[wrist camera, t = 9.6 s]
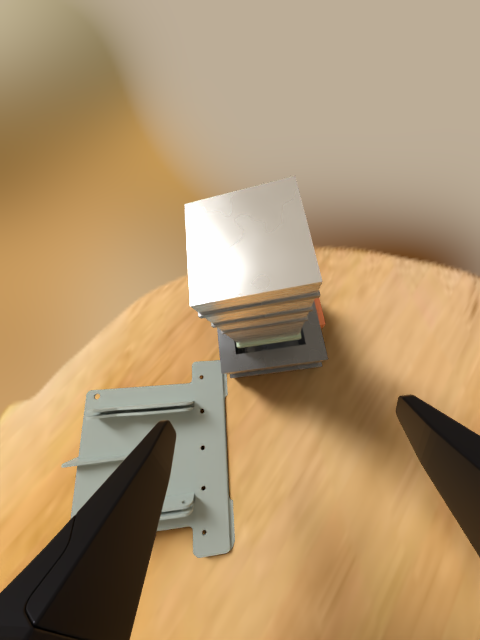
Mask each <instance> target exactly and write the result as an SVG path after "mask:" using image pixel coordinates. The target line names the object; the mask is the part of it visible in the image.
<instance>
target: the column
mask: <svg viewBox="0 0 480 640" xmlns="http://www.w3.org/2000/svg"><path fill="white" fill-rule="evenodd" d="M185 219H186V239H187V256H188V275H189V294H190V306H191V307H192V308H193V309H195V310H196V311H197V312H198V317H200V318H206V319H207V320H209V321H210V322H211V324H212V327H213V328H215V327H217V328H219V329H220V330H221V334H226V335H227V336H229V337H230V338H231V339H233V340H234V341H235V342H236V344H237V347H238V348H244V347H251V346H257V345H264V344H271V343H278V342H284V341H291V340H298V339H301V332H300V331H301V329H302V327H303V324H304V322H305V321H308V313H309V312H311V311H313V306H312V304H313V302H314V299H315V298H319V297H320V292H319V288H320V286H321V284H322V278H321V274H320V270H319V266H318V262H317V259H316V255H315V251H314V247H313V243H312V239H311V235H310V231H309V227H308V224H307V220H306V216H305V212H304V208H303V204H302V200H301V196H300V192H299V188H298V185H297V181H296V177H295V176H292V177H288V178H284V179H280V180H276V181H272V182H268V183H265V184H261V185H257V186H253V187H249V188H246V189H242V190H238V191H234V192H230V193H226V194H222V195H218V196H215V197H211V198H207V199H203V200H199V201H196V202H192V203H188V204H185Z"/></svg>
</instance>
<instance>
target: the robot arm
mask: <svg viewBox="0 0 480 640" xmlns="http://www.w3.org/2000/svg"><path fill="white" fill-rule="evenodd" d="M396 414H397V417H398V419H399V421H400V423H401V425H402V427H403V429H404V431H405V433H406V435H407V437H408V439H409V441H410V443H411V445H412V447H413V449H414V451H415V453H416V455H417V457H418V459H419V460H420V462H421V464H422V466H423V467H424V469H425V471H426V472H427V474H428V475H429V477H430V479H431V480H432V482H433V483H434V485H435V487H436V488H437V490H438V491H439V493H440V495H441V496H442V498H443V499H444V501H445V503H446V504H447V506H448V507H449V509H450V511H451V512H452V514H453V515H454V517H455V519H456V520H457V522H458V523H459V525H460V527H461V528H462V530H463V531H464V533H465V535H466V536H467V538H468V539H469V541H470V543H471V544H472V546H473V547H474V549H475V551H476V552H477V554H478V555H479V557H480V435H478V434H476V433H475V432H473V431H471V430H470V429H468V428H466V427H465V426H463V425H462V424H460V423H458V422H457V421H455V420H453V419H452V418H450V417H448V416H447V415H445V414H444V413H442V412H440V411H439V410H437V409H435V408H434V407H432V406H430V405H429V404H427V403H426V402H424V401H422V400H421V399H419V398H417V397H416V396H414V395H401V396H399V397H398V402H397V407H396ZM175 443H176V431H175V429H174V427H173V425H172V424H171V422H170V421H169V420H162V421H159V422H158V423H157V424H156V425H155V426H154V427H153V428H152V429H151V431H150V432H149V433H148V434H147V435H146V436H145V437H144V438H143V439H142V441H141V442H140V443H139V444H138V445H137V446H136V447H135V448H134V449H133V451H132V452H131V453H130V454H129V455H128V456H127V457H126V458H125V459H124V461H123V462H122V463H121V464H120V465H119V466H118V467H117V468H116V469H115V471H114V472H113V473H112V474H111V475H110V476H109V477H108V478H107V480H106V481H105V482H104V483H103V484H102V485H101V486H100V487H99V488H98V490H97V491H96V492H95V493H94V494H93V495H92V496H91V497H90V498H89V500H88V501H87V502H86V503H85V504H84V505H83V506H82V507H81V508H80V510H79V511H78V512H77V513H76V515H74V516H73V517H72V518H71V520H70V521H69V522H68V523H67V524H66V525H65V526H64V527H63V528H62V529H61V531H60V532H59V533H58V534H57V535H56V536H55V537H54V538H53V539H52V540H51V541H50V543H49V544H48V545H47V546H46V547H45V548H44V549H43V550H42V551H41V552H40V553H39V554H38V555H37V556H36V557H35V558H34V559H33V560H32V561H31V562H30V563H29V564H28V565H27V567H26V568H25V569H24V570H23V571H22V572H21V573H20V574H19V575H18V576H17V577H16V578H15V579H14V580H13V581H12V582H11V583H10V584H9V585H8V586H7V587H6V588H5V589H4V590H3V591H2V592H1V593H0V640H130V636H131V632H132V628H133V624H134V620H135V616H136V612H137V608H138V604H139V600H140V596H141V592H142V588H143V584H144V580H145V576H146V572H147V568H148V564H149V560H150V556H151V552H152V548H153V544H154V540H155V536H156V532H157V528H158V524H159V520H160V516H161V512H162V508H163V504H164V500H165V496H166V492H167V488H168V484H169V479H170V475H171V469H172V462H173V456H174V449H175Z"/></svg>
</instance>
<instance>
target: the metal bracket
mask: <svg viewBox="0 0 480 640" xmlns="http://www.w3.org/2000/svg"><path fill="white" fill-rule="evenodd" d="M201 375H203V377H204V378H203V379H200V376H201ZM96 394H100V398H99V399H98V400H97V399H95V395H96ZM227 395H228V393H227V374H221V363H220V360H217V361H200V362H194V363H193V365H192V382H191V383H188V384H174V385H160V386H146V387H132V388H118V389H104V390H91V391H89V392H88V393H87V395H86V403H85V411H84V418H83V426H82V434H81V442H80V450H79V457H77V458H74V459H72V460H70V461H68V462H65V463H63V464H62V467H71V466H77V473H76V481H75V489H74V497H73V505H72V513H71V518H72V517H73V516H74V515H76V513H77V512H78V511H79V510H80V508H81V507H82V506H83V505H84V504H85V503H86V502H87V501H88V500H89V498H90V497H91V496H92V495H93V494H94V493H95V492H96V491H97V490H98V488H99V487H100V486H101V485H102V484H103V483H104V482H105V481H106V480H107V478H108V477H109V476H110V475H111V474H112V473H113V472H114V471H115V469H116V468H117V467H118V466H119V465H120V464H121V463H122V462H123V461H124V459H125V458H126V457H127V456H128V455H129V454H130V453H131V452H132V451H133V449H134V448H135V447H136V446H137V445H138V444H139V443H140V442H141V441H142V439H143V438H144V437H145V436H146V435H147V434H148V433H149V432H150V431H151V429H152V428H153V427H154V426H155V425H156V424H157V423H158V422H159V421H162V420H169V421H170V422H171V424H172V425H173V427H174V429H175V431H176V443H175V449H174V456H173V462H172V469H171V475H170V479H169V484H168V488H167V492H166V496H165V500H164V504H163V508H162V512H161V516H160V520H159V524H158V528H157V531H162V530H168V529H175V528H182V527H188V526H189V527H191V528H192V529H193V553H194V555H195V556H196V557H197V558H201V557H207V556H213V555H219V554H225V553H228V552H229V551H230V550H231V549H232V547H233V544H234V541H235V534H234V514H233V500H231V499H230V497H229V485H228V463H227V441H226V419H225V397H226V396H227ZM201 409H204V413H201V412H200V410H201ZM201 446H205V449H204V450H202V449H201ZM202 486H205V487H206V489H205V490H202V489H201V487H202ZM203 530H206V532H207V533H206V534H203V533H202V531H203Z"/></svg>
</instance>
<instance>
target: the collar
mask: <svg viewBox="0 0 480 640" xmlns="http://www.w3.org/2000/svg"><path fill="white" fill-rule="evenodd" d="M312 306H313V311H311V312H309V313H308V321H305V322H304V324H303V327H302V329H301V331H300V332H301V339H298V340H291V341H284V342H278V343H271V344H264V345H257V346H251V347H244V348H238V347H237V344H236V342H235V341H234V340H233V339H231V338H230V337H229V336H227V335H226V334H221V330H220V329H219V328H217V330H218V341H219V352H220V363H221V374H230V378H239V377H246V376H254V375H262V374H270V373H278V372H285V371H293V370H301V369H309V368H317V367H322V363H321V362H323V361H325V360H328V357H327V352H326V348H325V344H324V340H323V336H322V331H321V329H322V328H323V327H324V325H325V320H324V316H323V312H322V308H321V304H320V300H319V298H315V299H314V302H313V304H312Z"/></svg>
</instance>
